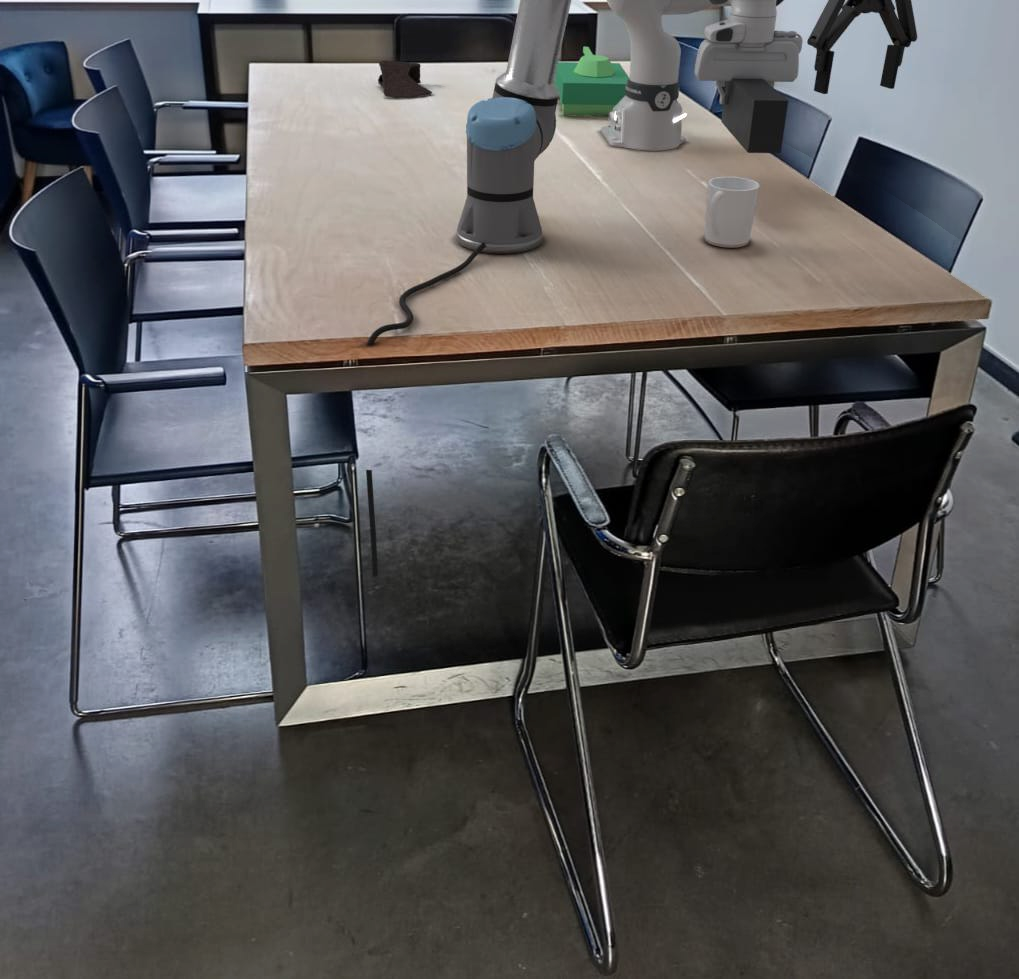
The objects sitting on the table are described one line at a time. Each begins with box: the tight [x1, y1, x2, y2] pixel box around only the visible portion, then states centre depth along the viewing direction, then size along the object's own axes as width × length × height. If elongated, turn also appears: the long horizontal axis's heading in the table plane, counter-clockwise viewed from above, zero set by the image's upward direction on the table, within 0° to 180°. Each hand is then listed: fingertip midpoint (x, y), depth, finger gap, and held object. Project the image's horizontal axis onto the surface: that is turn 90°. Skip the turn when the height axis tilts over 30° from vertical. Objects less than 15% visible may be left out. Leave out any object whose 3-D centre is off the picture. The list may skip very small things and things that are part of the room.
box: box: [721, 79, 789, 154], centre depth 212 cm, size 25×6×10 cm, turn 2°
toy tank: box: [554, 46, 630, 117], centre depth 288 cm, size 18×12×35 cm
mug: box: [703, 176, 760, 249], centre depth 194 cm, size 11×9×10 cm
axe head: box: [377, 59, 433, 99], centre depth 299 cm, size 18×8×15 cm
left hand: (854, 89), depth 182 cm, fingers open, 13 cm apart
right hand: (742, 104), depth 220 cm, fingers closed on box, 6 cm apart
